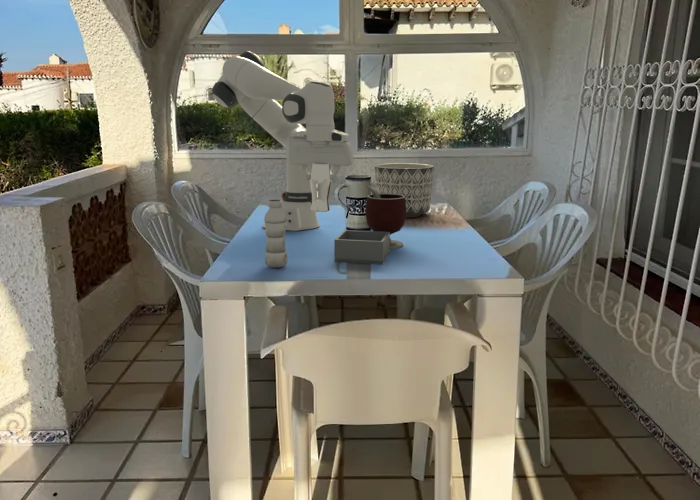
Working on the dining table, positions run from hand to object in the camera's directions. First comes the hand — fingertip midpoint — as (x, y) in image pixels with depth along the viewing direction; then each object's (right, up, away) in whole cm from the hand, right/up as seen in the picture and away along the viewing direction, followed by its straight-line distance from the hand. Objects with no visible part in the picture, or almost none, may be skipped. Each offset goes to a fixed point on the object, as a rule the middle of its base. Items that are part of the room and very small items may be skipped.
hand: (320, 179), depth 183 cm
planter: (+33, -7, +78) cm, 85 cm away
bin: (+13, -24, +1) cm, 28 cm away
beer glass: (0, -10, +2) cm, 10 cm away
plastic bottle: (-13, -27, -10) cm, 32 cm away
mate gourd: (+21, -21, +19) cm, 35 cm away
